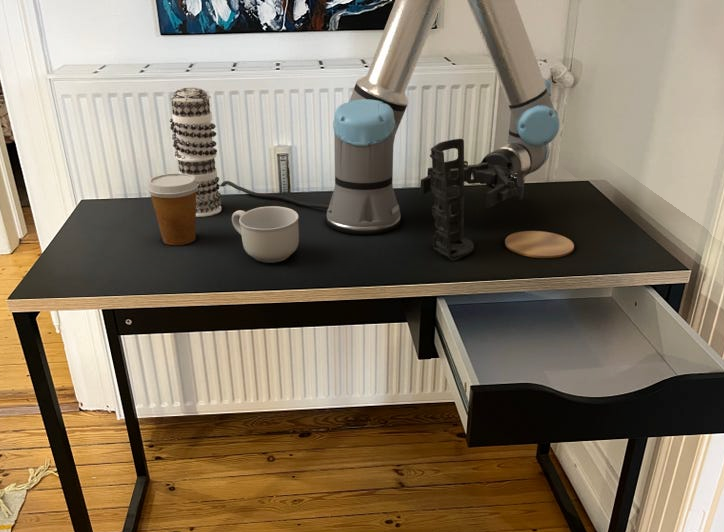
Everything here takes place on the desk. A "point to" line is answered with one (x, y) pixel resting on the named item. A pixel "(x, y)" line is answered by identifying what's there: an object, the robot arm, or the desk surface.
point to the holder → (448, 200)
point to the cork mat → (539, 244)
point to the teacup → (268, 232)
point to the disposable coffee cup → (175, 206)
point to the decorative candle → (196, 146)
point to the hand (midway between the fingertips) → (453, 193)
